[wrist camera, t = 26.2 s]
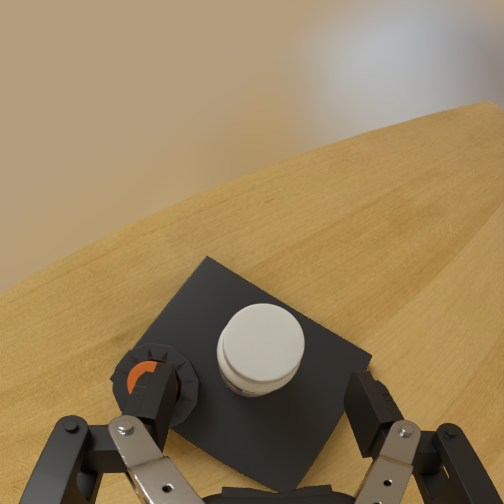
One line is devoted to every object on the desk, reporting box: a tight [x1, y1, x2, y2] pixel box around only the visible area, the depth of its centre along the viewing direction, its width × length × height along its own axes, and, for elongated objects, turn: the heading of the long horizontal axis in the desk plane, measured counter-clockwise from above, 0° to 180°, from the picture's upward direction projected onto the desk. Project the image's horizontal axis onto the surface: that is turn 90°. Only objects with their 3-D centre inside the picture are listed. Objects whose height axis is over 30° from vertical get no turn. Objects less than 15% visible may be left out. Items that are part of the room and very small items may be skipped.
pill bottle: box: [217, 304, 305, 397], centre depth 18 cm, size 5×5×8 cm
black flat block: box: [110, 256, 372, 493], centre depth 21 cm, size 16×14×3 cm
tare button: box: [127, 361, 178, 395], centre depth 19 cm, size 3×3×2 cm
